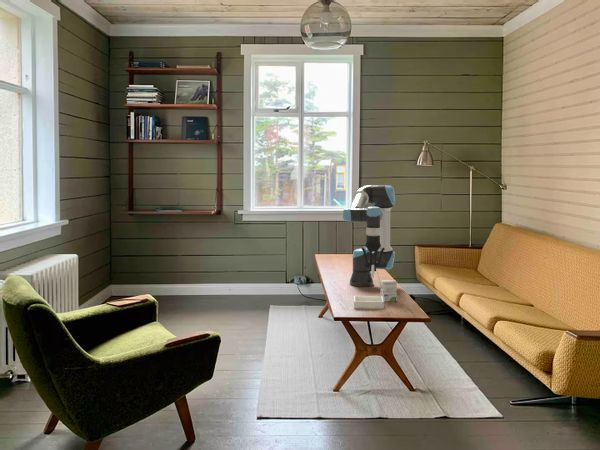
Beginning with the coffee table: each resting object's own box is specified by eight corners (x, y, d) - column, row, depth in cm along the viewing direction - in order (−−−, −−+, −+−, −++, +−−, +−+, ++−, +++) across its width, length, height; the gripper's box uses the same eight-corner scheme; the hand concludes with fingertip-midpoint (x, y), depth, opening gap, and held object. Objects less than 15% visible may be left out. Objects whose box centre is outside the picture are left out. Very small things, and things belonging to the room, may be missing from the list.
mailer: (353, 302, 355) (353, 295, 355) (382, 303, 354) (382, 296, 354) (354, 308, 343) (354, 301, 342) (383, 308, 342) (383, 301, 341)
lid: (375, 268, 352) (376, 268, 352) (382, 295, 353) (383, 295, 353) (377, 272, 340) (377, 272, 340) (384, 300, 341) (385, 300, 341)
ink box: (393, 299, 364) (394, 279, 362) (396, 301, 359) (397, 281, 358) (379, 299, 362) (380, 279, 361) (382, 301, 357) (382, 281, 356)
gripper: (361, 235, 340) (360, 278, 343) (385, 236, 339) (384, 278, 342) (361, 233, 348) (360, 275, 351) (384, 234, 347) (384, 275, 350)
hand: (372, 277), depth 346 cm, fingers closed
